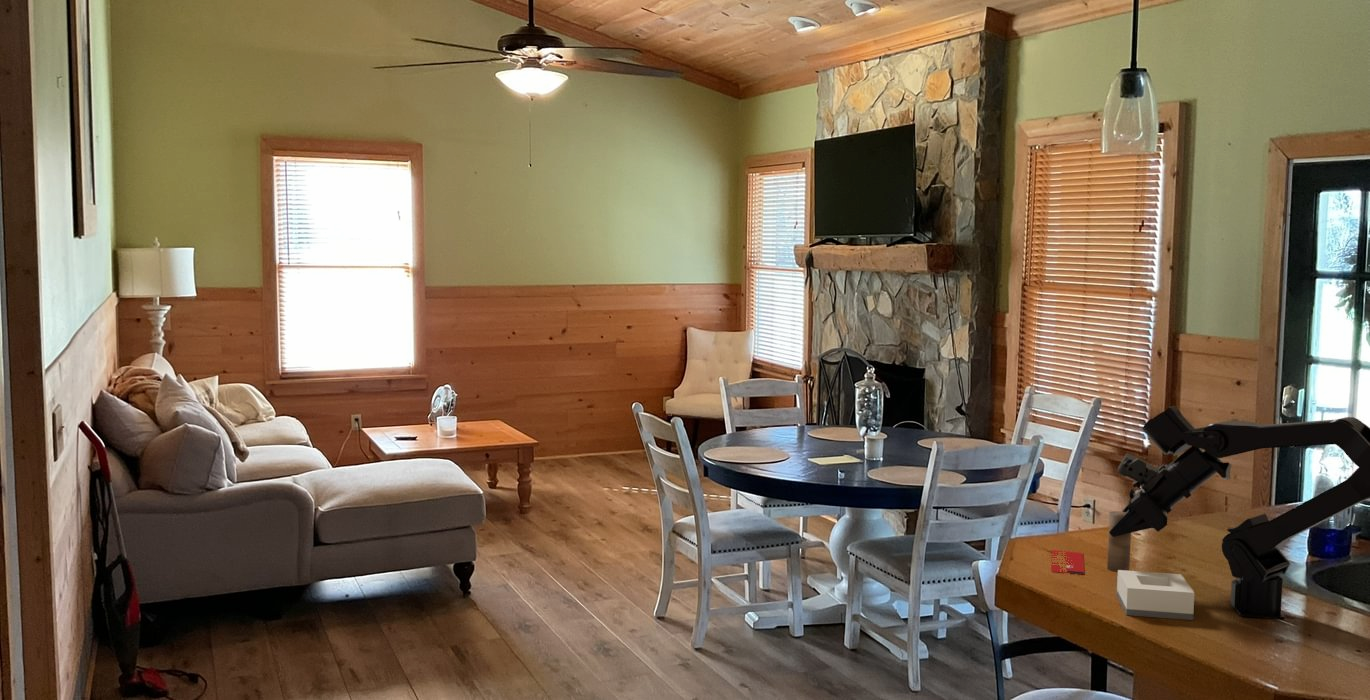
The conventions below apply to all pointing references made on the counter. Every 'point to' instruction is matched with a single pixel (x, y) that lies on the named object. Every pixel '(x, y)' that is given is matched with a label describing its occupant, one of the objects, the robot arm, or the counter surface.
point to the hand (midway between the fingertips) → (1111, 531)
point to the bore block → (1155, 594)
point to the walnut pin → (1118, 546)
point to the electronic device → (1072, 569)
